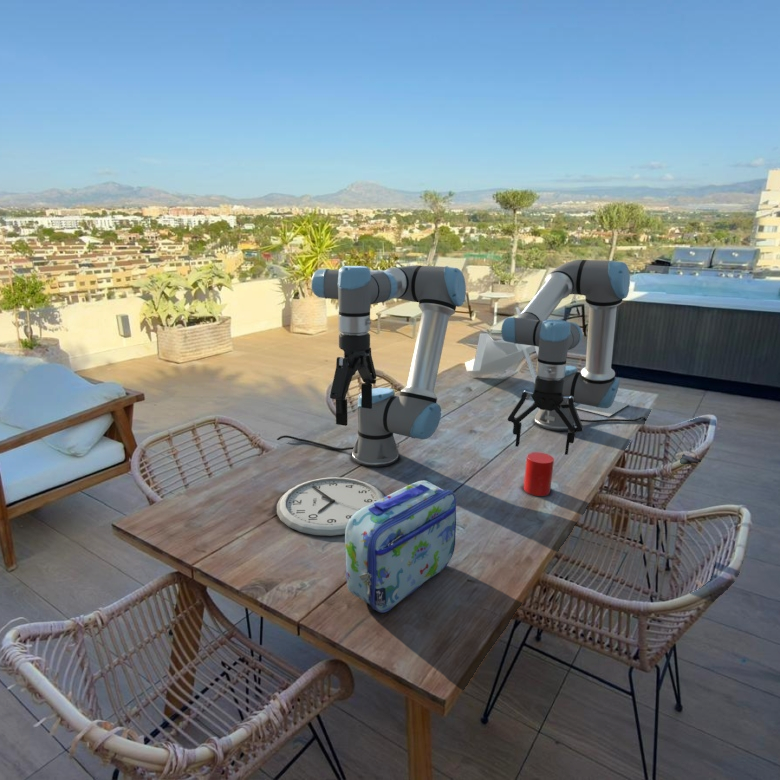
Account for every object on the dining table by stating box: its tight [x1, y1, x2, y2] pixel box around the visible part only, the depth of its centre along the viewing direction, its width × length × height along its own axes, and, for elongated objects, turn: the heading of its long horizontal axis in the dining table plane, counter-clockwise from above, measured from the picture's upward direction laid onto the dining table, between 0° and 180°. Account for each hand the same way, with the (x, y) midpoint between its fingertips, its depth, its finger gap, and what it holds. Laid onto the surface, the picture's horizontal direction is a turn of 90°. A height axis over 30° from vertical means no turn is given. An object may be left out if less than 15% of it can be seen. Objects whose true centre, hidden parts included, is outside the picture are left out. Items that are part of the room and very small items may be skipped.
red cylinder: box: [523, 451, 555, 497], centre depth 152 cm, size 8×8×10 cm
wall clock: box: [276, 476, 386, 537], centre depth 142 cm, size 30×2×30 cm
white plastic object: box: [464, 306, 539, 385], centre depth 260 cm, size 37×45×31 cm
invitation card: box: [575, 400, 629, 418], centre depth 226 cm, size 21×1×15 cm
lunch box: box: [344, 480, 457, 614], centre depth 109 cm, size 26×11×21 cm, turn 135°
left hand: (354, 415), depth 131 cm, fingers open, 13 cm apart
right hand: (541, 448), depth 149 cm, fingers open, 13 cm apart
